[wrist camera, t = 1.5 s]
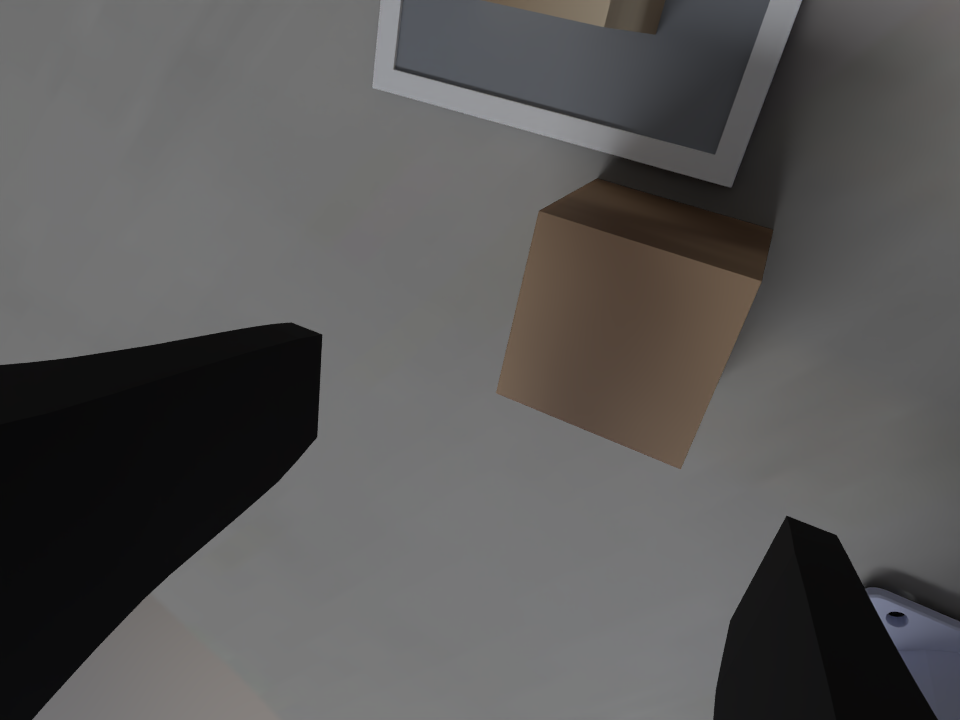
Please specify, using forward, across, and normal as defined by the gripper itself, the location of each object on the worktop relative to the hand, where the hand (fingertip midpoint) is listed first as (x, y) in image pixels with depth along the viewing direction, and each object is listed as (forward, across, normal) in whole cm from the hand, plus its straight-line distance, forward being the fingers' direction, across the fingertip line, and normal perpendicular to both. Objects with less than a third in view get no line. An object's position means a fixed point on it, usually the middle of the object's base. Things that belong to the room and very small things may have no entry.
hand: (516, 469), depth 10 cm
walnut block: (+10, 0, 0) cm, 10 cm away
